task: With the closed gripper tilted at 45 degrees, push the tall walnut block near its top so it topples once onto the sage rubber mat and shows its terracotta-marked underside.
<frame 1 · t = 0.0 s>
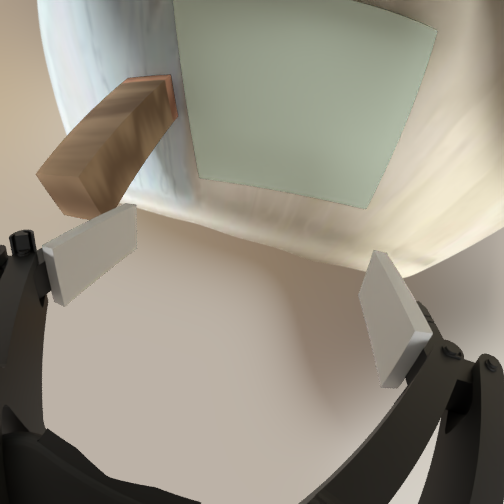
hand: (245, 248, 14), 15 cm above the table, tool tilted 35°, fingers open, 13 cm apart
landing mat: (293, 105, 22), on the table
walnut block: (152, 96, 23), on the table
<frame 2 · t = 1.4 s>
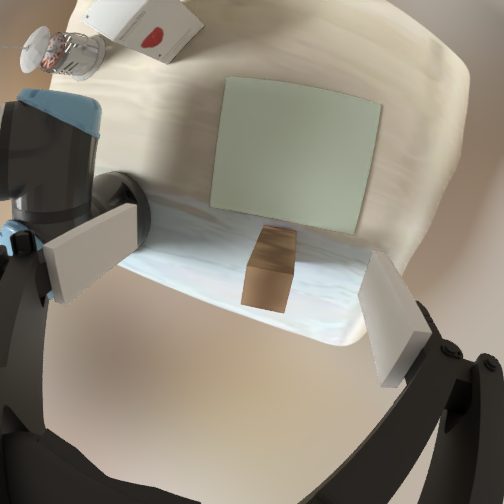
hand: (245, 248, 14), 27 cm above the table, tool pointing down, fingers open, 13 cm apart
supplement box: (169, 33, 32), on the table
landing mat: (293, 152, 37), on the table
walnut block: (277, 243, 43), on the table
french press: (90, 56, 34), on the table
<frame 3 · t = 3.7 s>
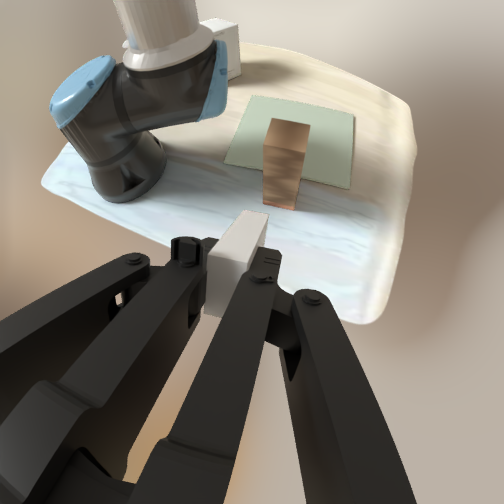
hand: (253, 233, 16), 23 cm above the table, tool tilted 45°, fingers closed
supplement box: (217, 75, 57), on the table
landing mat: (295, 135, 49), on the table
walnut block: (281, 194, 44), on the table
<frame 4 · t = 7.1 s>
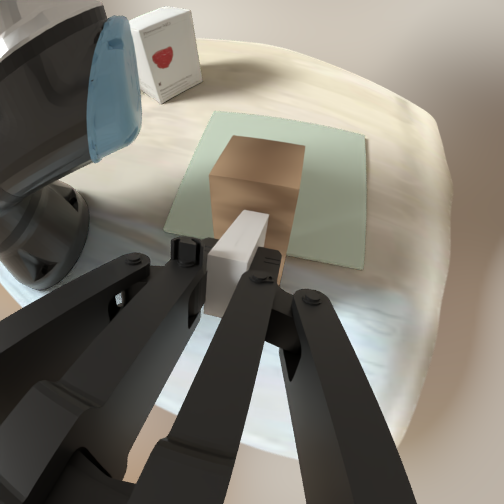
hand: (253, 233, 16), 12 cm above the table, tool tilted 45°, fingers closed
supplement box: (170, 85, 41), on the table
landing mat: (277, 174, 33), on the table
walnut block: (252, 284, 27), point 1 cm above the table, tilted 18°
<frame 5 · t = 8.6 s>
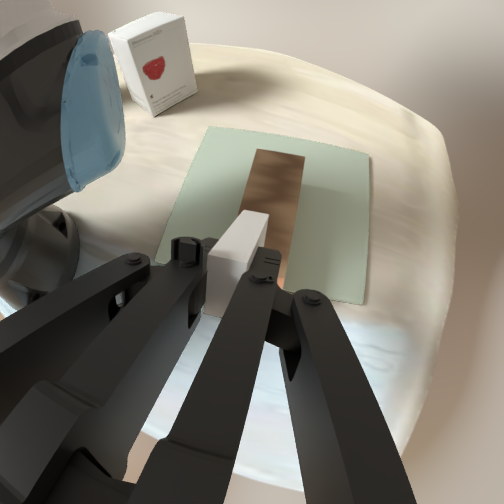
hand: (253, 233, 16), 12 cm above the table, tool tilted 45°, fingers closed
supplement box: (164, 96, 40), on the table
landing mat: (274, 200, 31), on the table
walnut block: (251, 293, 24), point 3 cm above the table, tilted 90°, touching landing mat
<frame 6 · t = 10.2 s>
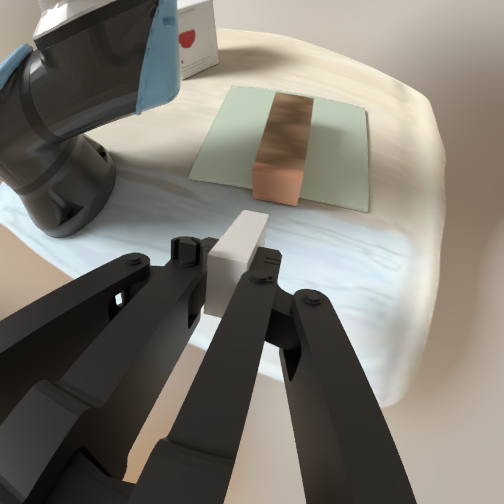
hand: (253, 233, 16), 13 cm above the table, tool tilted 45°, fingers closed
supplement box: (189, 66, 44), on the table
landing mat: (289, 135, 35), on the table
walnut block: (275, 189, 29), point 3 cm above the table, tilted 90°, touching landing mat
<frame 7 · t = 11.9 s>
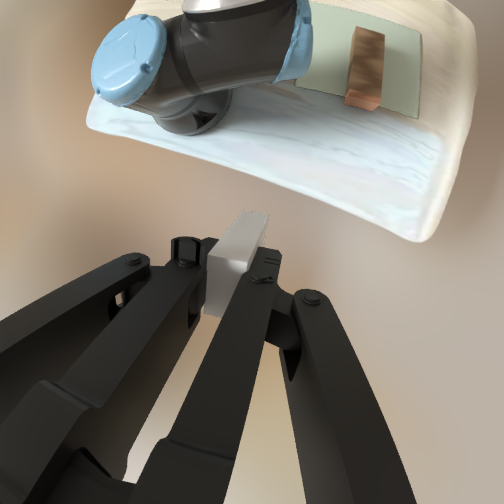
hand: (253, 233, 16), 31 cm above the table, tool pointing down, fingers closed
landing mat: (363, 53, 36), on the table
walnut block: (361, 104, 36), point 3 cm above the table, tilted 90°, touching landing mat
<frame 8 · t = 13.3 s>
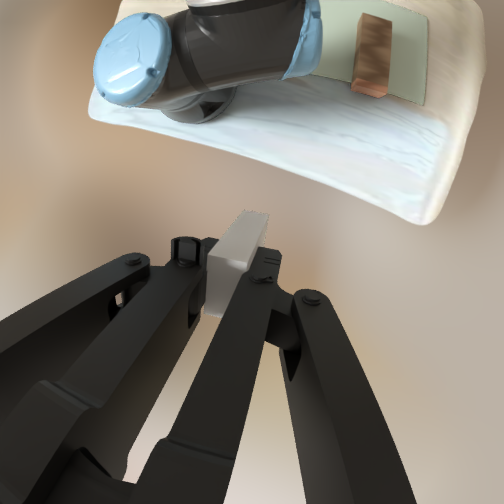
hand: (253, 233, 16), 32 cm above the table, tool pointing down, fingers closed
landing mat: (370, 38, 33), on the table
walnut block: (368, 91, 35), point 3 cm above the table, tilted 90°, touching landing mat
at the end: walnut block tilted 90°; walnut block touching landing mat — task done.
